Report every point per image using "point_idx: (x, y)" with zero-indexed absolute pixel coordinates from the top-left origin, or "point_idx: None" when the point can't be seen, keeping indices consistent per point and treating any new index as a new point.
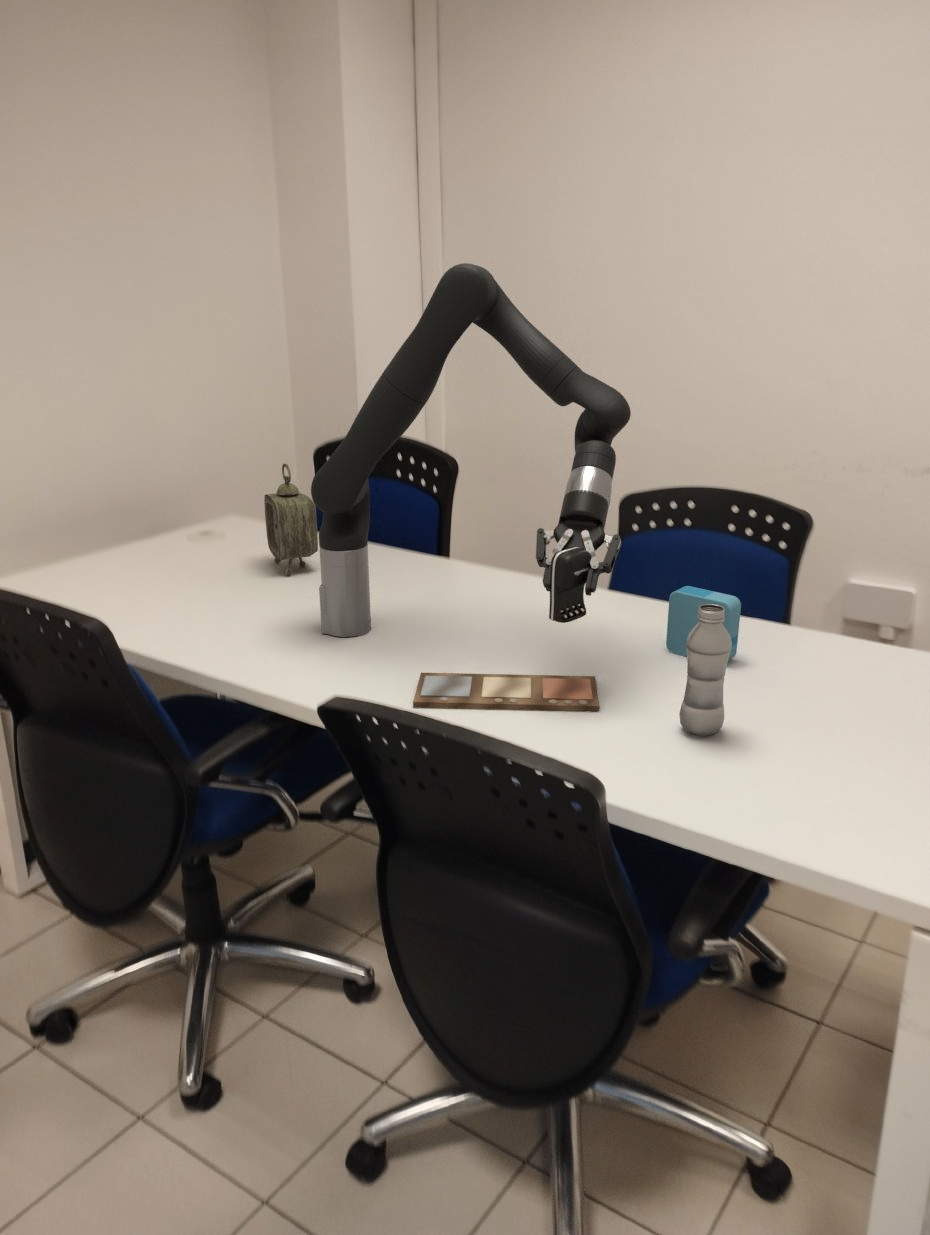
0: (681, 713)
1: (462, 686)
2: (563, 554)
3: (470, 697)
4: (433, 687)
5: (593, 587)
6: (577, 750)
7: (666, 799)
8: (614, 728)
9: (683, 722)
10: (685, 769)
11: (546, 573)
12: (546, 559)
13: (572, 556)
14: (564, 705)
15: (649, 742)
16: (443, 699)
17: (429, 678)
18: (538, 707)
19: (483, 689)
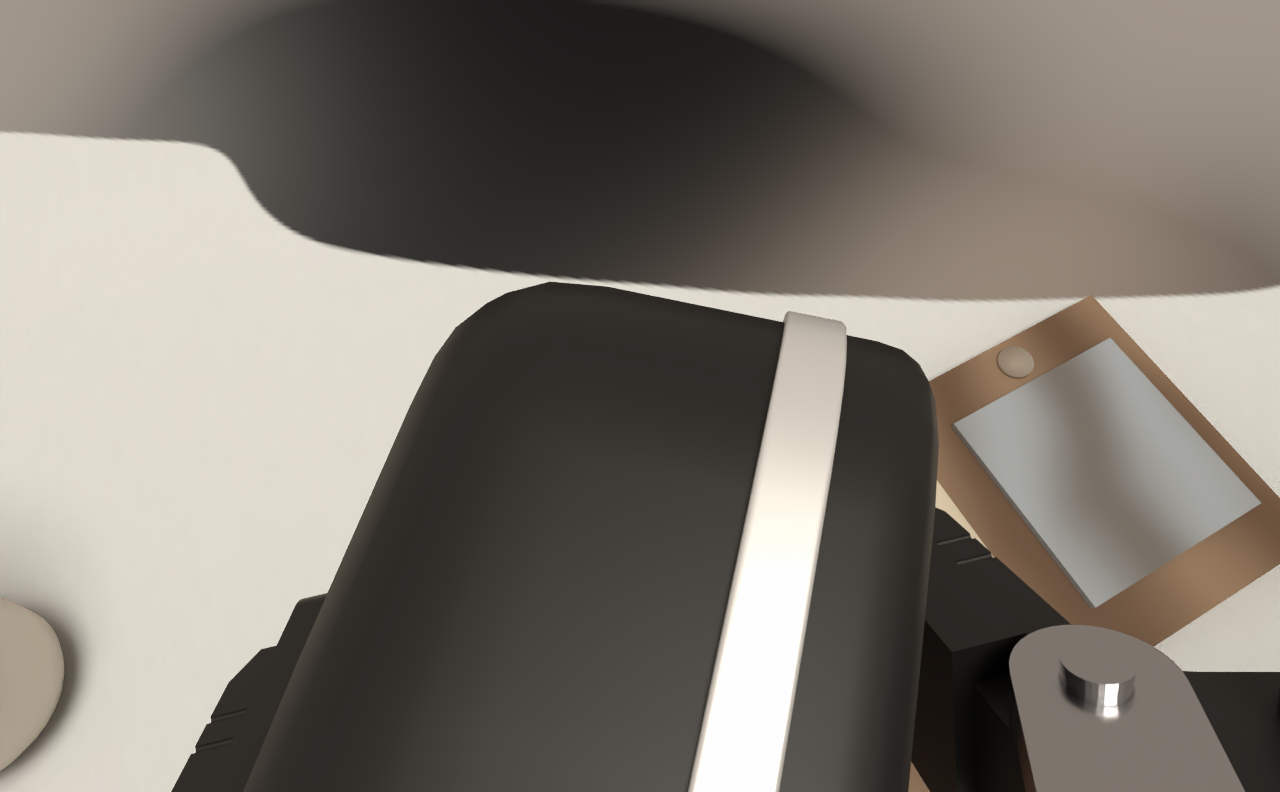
0: (19, 627)
1: (1046, 489)
2: (679, 373)
3: (950, 432)
4: (1131, 419)
5: (255, 661)
6: (419, 323)
7: (101, 210)
8: (345, 534)
9: (31, 614)
10: (53, 382)
11: (975, 580)
12: (1232, 754)
13: (440, 402)
14: None
15: (195, 496)
16: (1013, 353)
17: (1221, 486)
18: None
19: (953, 509)
